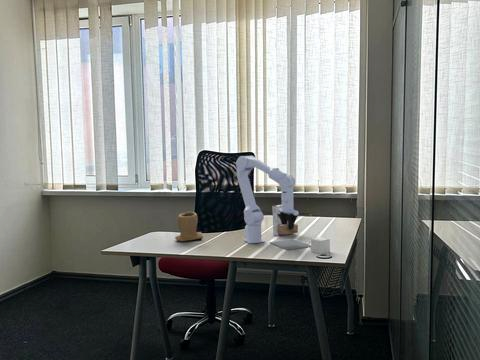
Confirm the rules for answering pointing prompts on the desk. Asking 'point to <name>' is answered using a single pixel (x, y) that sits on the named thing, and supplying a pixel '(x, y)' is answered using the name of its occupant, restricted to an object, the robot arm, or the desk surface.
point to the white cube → (320, 245)
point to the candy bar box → (277, 220)
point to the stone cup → (188, 227)
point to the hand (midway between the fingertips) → (287, 228)
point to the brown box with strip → (286, 229)
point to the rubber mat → (290, 244)
